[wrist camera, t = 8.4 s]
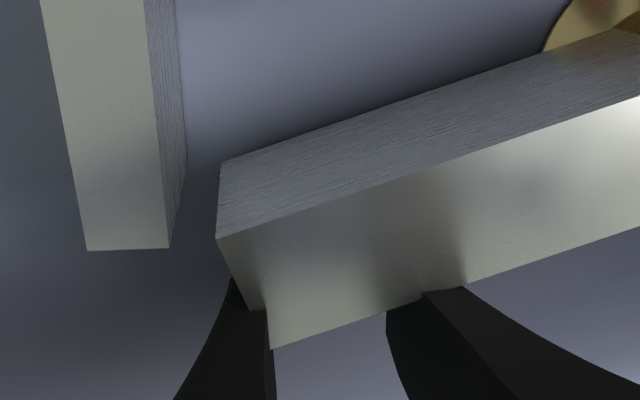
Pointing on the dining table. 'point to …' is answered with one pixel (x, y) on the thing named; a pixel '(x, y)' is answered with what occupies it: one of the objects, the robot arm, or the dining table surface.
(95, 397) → the dining table surface
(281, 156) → the bar
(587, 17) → the pivot plate
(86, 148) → the bracket
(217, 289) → the dining table surface
